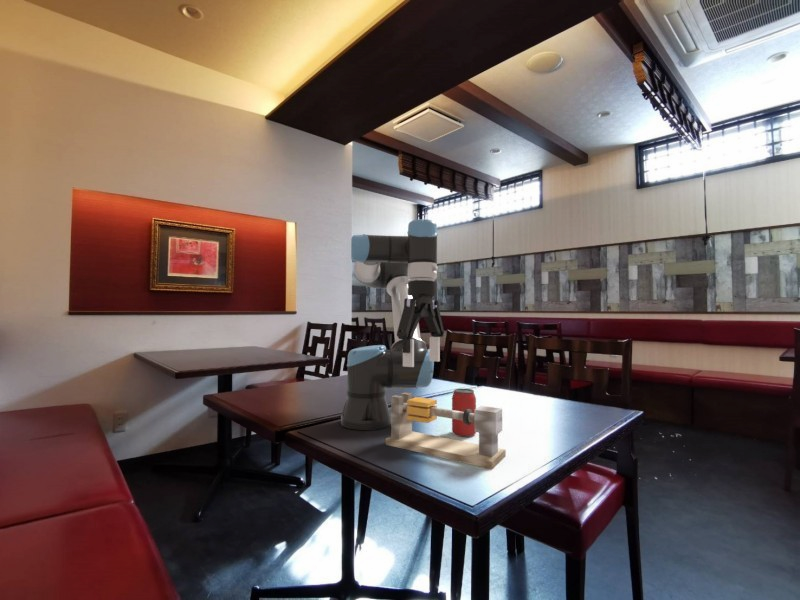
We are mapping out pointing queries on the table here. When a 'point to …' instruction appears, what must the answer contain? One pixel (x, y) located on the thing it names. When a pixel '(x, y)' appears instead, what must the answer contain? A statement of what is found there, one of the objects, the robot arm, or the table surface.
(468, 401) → the beer can
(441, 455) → the rod stand with block
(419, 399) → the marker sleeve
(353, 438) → the table surface
